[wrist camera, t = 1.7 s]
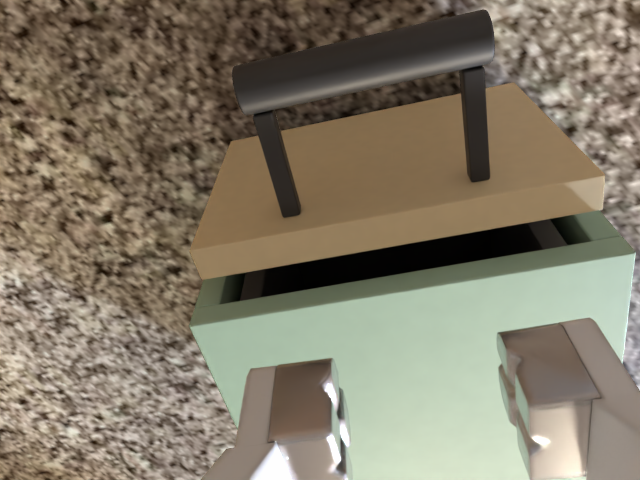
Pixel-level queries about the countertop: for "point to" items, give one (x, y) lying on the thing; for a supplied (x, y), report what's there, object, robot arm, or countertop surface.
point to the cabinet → (423, 346)
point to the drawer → (388, 168)
